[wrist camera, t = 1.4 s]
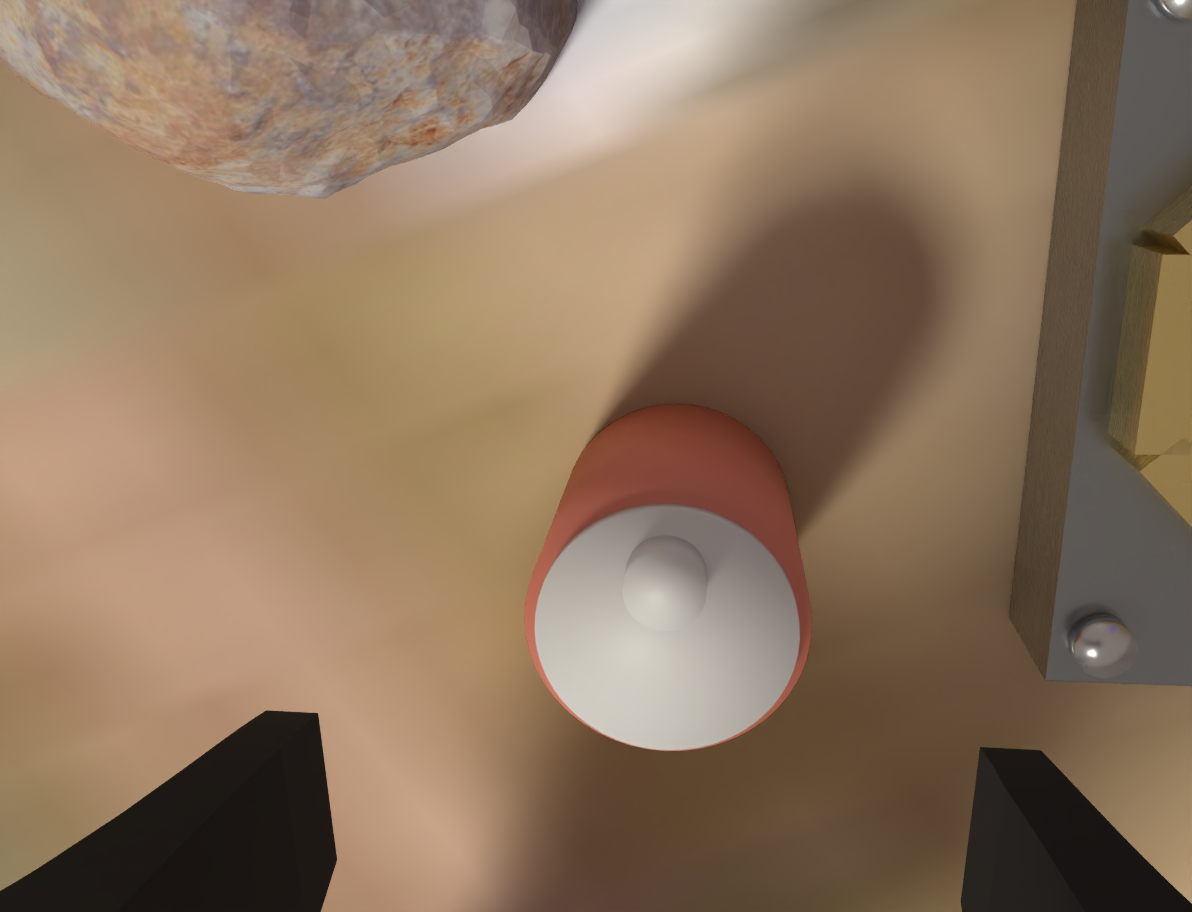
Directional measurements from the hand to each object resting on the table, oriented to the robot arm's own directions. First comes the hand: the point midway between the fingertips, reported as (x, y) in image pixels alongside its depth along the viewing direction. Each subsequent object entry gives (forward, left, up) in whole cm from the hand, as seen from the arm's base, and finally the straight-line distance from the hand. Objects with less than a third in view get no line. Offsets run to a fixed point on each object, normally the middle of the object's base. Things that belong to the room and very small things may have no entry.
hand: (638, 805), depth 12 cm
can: (0, 0, -10) cm, 10 cm away
